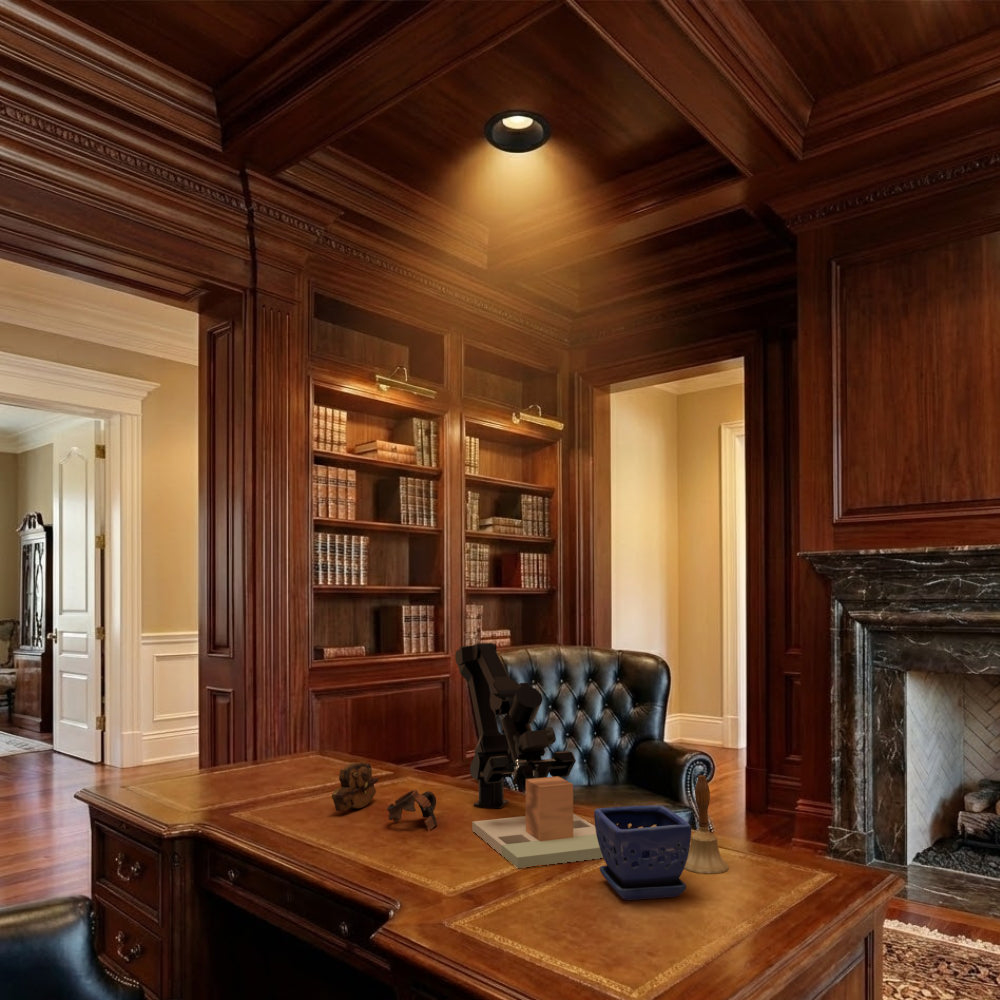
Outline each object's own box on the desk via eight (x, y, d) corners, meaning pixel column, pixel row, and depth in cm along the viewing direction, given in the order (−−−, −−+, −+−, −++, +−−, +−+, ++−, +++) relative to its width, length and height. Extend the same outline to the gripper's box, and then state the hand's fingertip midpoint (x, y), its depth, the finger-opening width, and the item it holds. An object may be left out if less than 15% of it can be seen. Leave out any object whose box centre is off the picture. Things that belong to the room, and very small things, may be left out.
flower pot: (696, 901, 138) (694, 824, 139) (617, 907, 135) (616, 828, 136) (664, 873, 151) (663, 803, 152) (591, 879, 148) (591, 807, 149)
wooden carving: (348, 818, 186) (349, 771, 187) (329, 817, 188) (330, 770, 189) (381, 800, 202) (382, 757, 203) (364, 799, 203) (364, 755, 204)
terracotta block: (525, 831, 169) (525, 779, 170) (558, 827, 172) (557, 776, 173) (539, 841, 163) (539, 787, 164) (573, 837, 165) (573, 784, 166)
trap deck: (472, 831, 176) (472, 821, 177) (569, 821, 184) (569, 811, 184) (501, 855, 161) (501, 844, 161) (607, 843, 168) (607, 832, 168)
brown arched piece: (425, 837, 174) (405, 801, 175) (394, 851, 179) (374, 816, 180) (455, 808, 185) (435, 774, 186) (424, 822, 189) (405, 789, 190)
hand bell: (729, 875, 150) (727, 781, 151) (681, 872, 151) (679, 779, 153) (727, 860, 158) (724, 771, 159) (680, 858, 159) (678, 769, 161)
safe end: (501, 855, 161) (501, 844, 161) (607, 843, 168) (607, 832, 168) (517, 869, 153) (517, 857, 153) (627, 855, 161) (627, 844, 161)
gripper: (488, 716, 175) (507, 783, 163) (571, 711, 181) (596, 776, 170) (475, 749, 181) (493, 816, 170) (556, 743, 188) (579, 807, 176)
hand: (541, 803), depth 171 cm, fingers closed, pressing on terracotta block
